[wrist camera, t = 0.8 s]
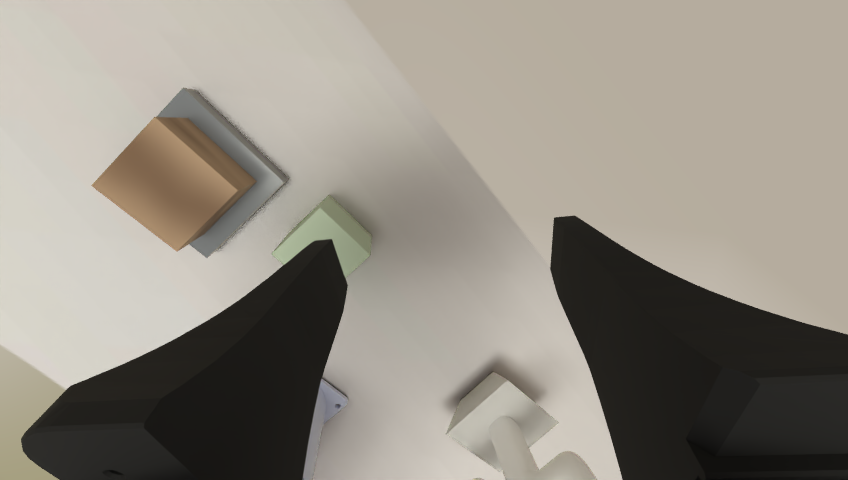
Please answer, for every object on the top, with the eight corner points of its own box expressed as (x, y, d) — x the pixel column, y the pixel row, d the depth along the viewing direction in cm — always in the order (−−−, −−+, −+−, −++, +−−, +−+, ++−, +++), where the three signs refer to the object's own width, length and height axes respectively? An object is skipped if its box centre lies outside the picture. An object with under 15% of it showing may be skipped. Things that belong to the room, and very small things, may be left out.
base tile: (216, 251, 27) (206, 258, 26) (118, 172, 25) (102, 175, 23) (289, 179, 26) (283, 182, 25) (194, 89, 24) (183, 87, 22)
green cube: (331, 272, 29) (323, 298, 24) (288, 234, 27) (271, 254, 23) (371, 235, 28) (370, 255, 24) (329, 194, 27) (320, 207, 23)
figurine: (430, 409, 34) (467, 612, 20) (502, 345, 33) (597, 513, 19) (480, 445, 36) (544, 650, 22) (549, 386, 35) (665, 565, 21)
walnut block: (203, 234, 25) (176, 251, 22) (132, 176, 23) (91, 185, 20) (257, 181, 24) (237, 190, 21) (187, 117, 23) (154, 116, 19)
